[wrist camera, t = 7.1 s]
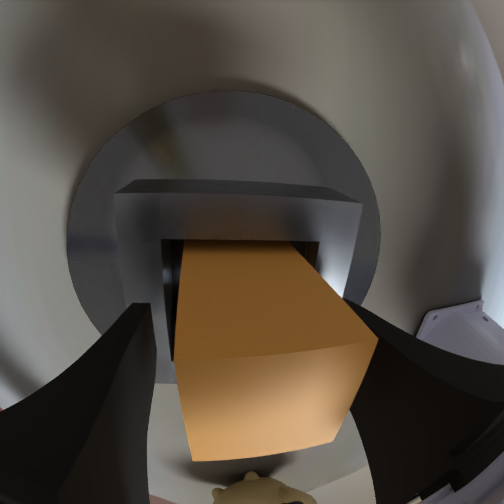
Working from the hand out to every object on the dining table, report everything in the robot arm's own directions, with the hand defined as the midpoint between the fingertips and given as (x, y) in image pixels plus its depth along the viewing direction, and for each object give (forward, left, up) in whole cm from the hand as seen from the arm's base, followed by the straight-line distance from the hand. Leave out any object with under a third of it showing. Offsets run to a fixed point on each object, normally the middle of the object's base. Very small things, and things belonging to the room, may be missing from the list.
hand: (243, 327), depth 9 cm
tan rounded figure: (-4, +29, -5) cm, 30 cm away
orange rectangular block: (0, 0, -4) cm, 4 cm away
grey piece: (0, +4, -5) cm, 6 cm away
